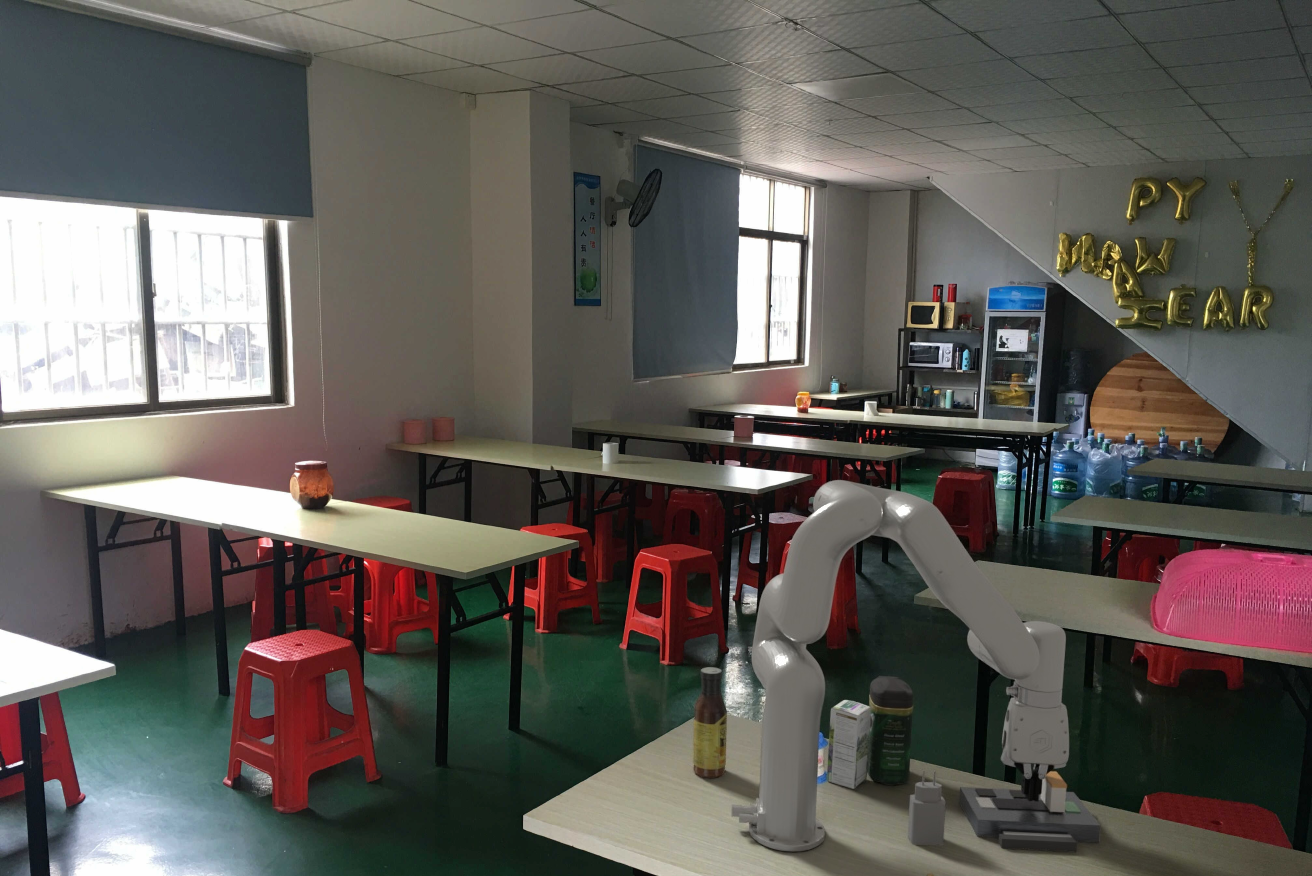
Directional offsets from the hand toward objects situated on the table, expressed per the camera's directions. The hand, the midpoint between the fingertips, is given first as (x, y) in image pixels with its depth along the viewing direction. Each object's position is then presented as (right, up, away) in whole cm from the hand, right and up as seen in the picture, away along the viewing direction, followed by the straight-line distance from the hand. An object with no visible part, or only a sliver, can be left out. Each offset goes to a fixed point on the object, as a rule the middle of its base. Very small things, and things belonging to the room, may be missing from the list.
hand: (1030, 797), depth 169 cm
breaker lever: (+4, -1, 0) cm, 4 cm away
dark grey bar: (-2, -5, -8) cm, 10 cm away
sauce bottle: (-55, -2, +17) cm, 57 cm away
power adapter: (-20, -5, -6) cm, 22 cm away
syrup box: (-29, -3, +15) cm, 33 cm away
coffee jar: (-21, -2, +18) cm, 27 cm away
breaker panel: (-1, -4, 0) cm, 4 cm away
